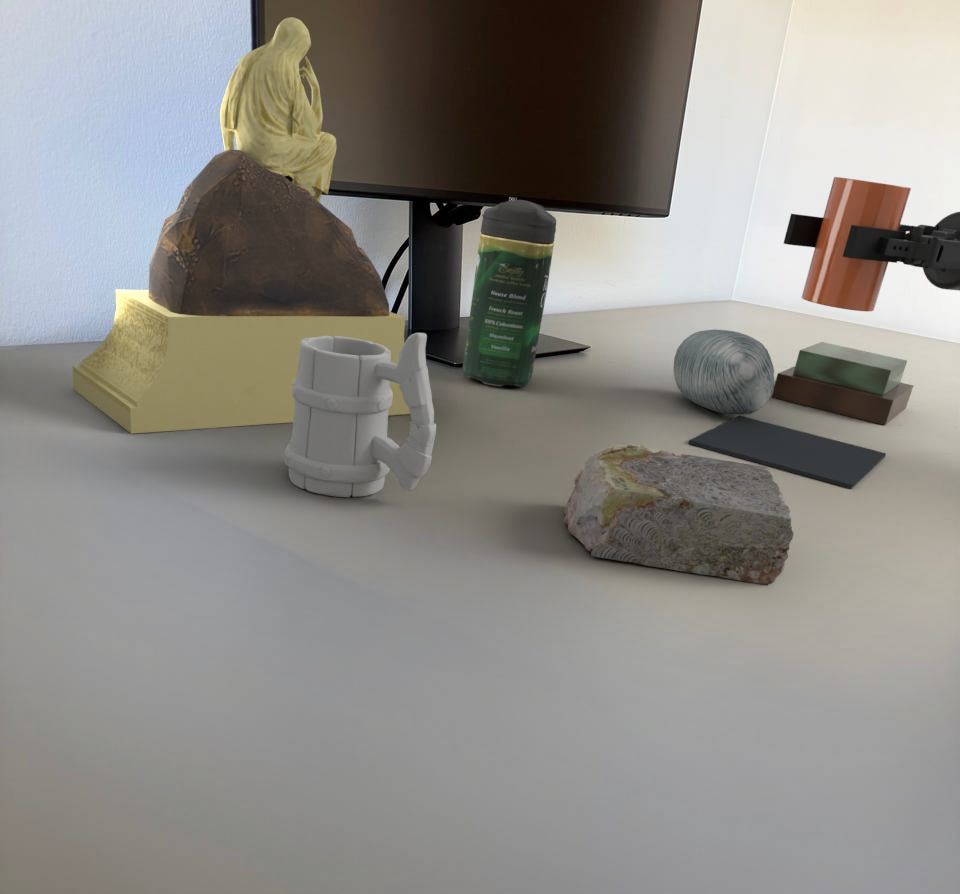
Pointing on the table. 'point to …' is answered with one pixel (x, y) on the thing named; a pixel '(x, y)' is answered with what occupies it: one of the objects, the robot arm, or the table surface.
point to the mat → (791, 450)
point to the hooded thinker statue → (244, 270)
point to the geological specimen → (681, 513)
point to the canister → (829, 271)
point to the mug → (358, 416)
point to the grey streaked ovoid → (724, 371)
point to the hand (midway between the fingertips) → (819, 235)
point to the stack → (846, 382)
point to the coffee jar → (509, 293)
